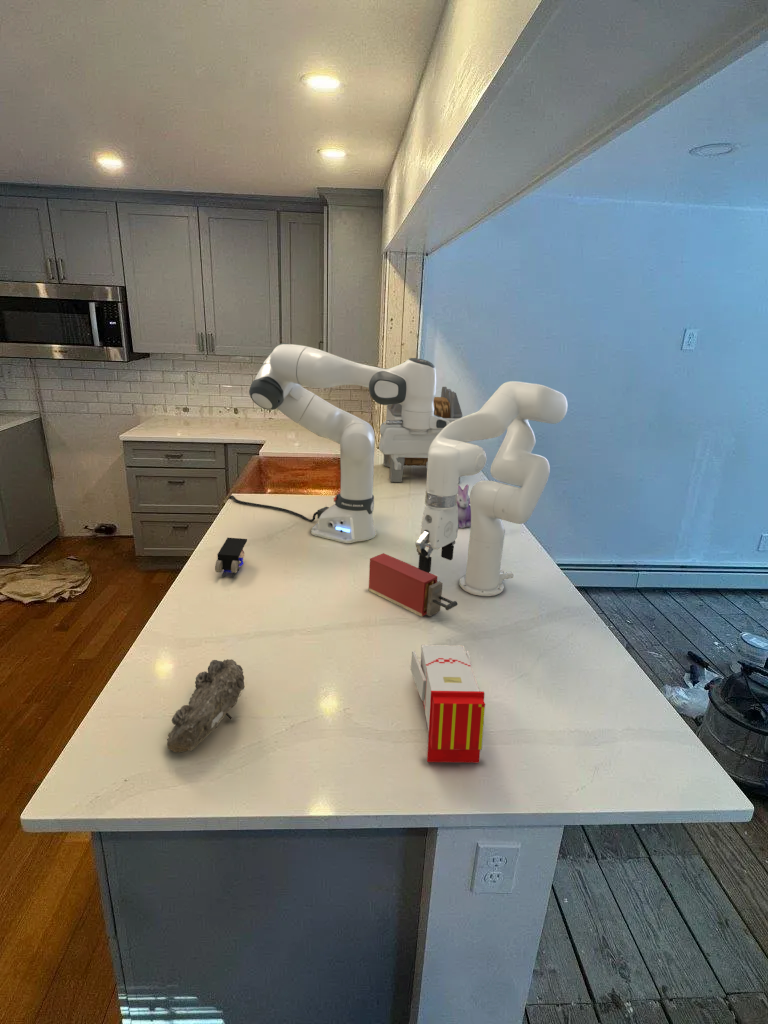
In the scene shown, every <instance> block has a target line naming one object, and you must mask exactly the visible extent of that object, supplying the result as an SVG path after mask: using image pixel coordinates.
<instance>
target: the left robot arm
mask: <svg viewBox="0 0 768 1024" xmlns="http://www.w3.org/2000/svg"><path fill="white" fill-rule="evenodd" d="M436 369H437V368H436V367H435V365H434V363H433V362H430V361H429V360H426V359H423V358H417V357H409V358H408V359H406V361H404V362H402V363H400V364H397V365H396V366H393V367H389V368H387V367H386V368H385V367H380V366H375V365H370V364H365V363H360V362H356V361H353V360H350V359H347V358H343V357H341V356H338V355H336V354H333V353H331V352H327V351H326V350H322V349H319V348H315V347H312V346H308V345H302V344H292V343H288V342H282V343H279V344H278V345H276V346H275V347H274V348H273V349H272V350H271V353H270V354H269V355H268V356H267V357H266V359H265V360H264V361H263V363H262V364H261V367H260V368H259V370H258V372H257V374H256V376H255V378H254V380H252V382H251V384H250V386H249V391H248V394H249V396H250V399H251V400H252V402H253V403H254V404H255V405H256V406H258V407H260V408H261V409H264V410H267V411H273V410H276V409H277V410H278V411H279V412H281V413H282V414H283V415H284V416H286V417H287V418H288V419H289V420H291V421H293V422H294V423H296V424H298V425H299V426H301V427H303V428H304V429H306V430H308V431H310V432H311V433H312V434H314V435H316V436H318V437H320V438H323V439H324V438H325V439H327V440H330V441H332V442H335V443H336V444H339V458H340V459H339V460H340V462H339V463H340V465H339V466H340V490H339V491H338V492H337V494H336V495H335V496H334V497H333V502H334V504H333V505H331V506H324V507H322V508H318V509H317V511H315V512H314V513H313V514H312V518H311V519H310V518H307V517H306V516H305V515H303V514H301V513H299V512H295V511H293V510H290V509H287V508H284V507H278V506H273V505H269V504H262V503H254V502H249V501H244V500H239V499H237V498H236V497H235V496H234V495H232V494H231V495H229V496H228V499H232V500H233V501H235V502H236V503H238V504H242V505H246V506H247V505H248V506H254V507H260V508H267V509H272V510H278V511H282V512H285V513H289V514H291V515H293V516H296V517H299V518H301V519H303V520H305V521H307V522H310V523H312V522H314V521H315V520H316V519H318V521H317V523H315V524H314V525H313V526H312V528H311V530H310V533H311V536H315V537H319V538H323V539H326V540H330V541H336V542H339V543H343V544H352V543H357V542H365V541H368V540H372V539H373V538H375V537H376V535H377V532H376V528H375V523H374V513H373V512H374V509H375V496H374V474H375V473H374V472H375V471H374V470H375V469H374V468H375V446H376V445H375V444H376V443H375V442H376V437H375V436H376V433H375V430H374V428H373V426H372V425H371V424H370V423H369V422H368V421H366V420H364V419H362V418H361V417H358V416H356V415H355V414H352V413H350V412H348V411H346V410H343V409H341V408H340V407H337V406H336V405H334V404H332V403H330V402H329V401H327V400H325V399H324V398H322V397H321V396H319V395H317V394H316V393H314V392H313V391H310V390H309V389H306V388H305V387H307V388H313V389H328V388H334V387H340V386H348V385H349V386H350V385H351V386H360V387H365V388H368V392H369V396H370V397H371V399H372V400H373V401H374V402H375V403H377V404H378V405H382V406H387V405H392V404H401V405H402V414H401V420H393V421H392V420H386V419H385V421H383V422H382V423H381V424H380V427H379V433H380V438H379V444H378V450H379V451H380V453H382V454H383V455H384V454H385V455H391V457H392V459H393V461H394V463H395V464H394V469H395V470H401V463H400V462H398V461H397V459H396V458H398V454H428V451H429V448H430V445H431V443H432V442H433V440H434V439H435V437H436V436H437V435H438V434H439V433H440V432H441V430H442V429H443V428H444V427H445V426H447V425H448V424H450V422H449V421H448V420H446V419H444V418H442V417H440V416H438V415H434V405H433V401H434V397H436V394H437V371H436ZM427 466H428V462H426V466H425V468H426V469H427ZM316 517H317V518H316Z"/></svg>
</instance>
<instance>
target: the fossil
mask: <svg viewBox="0 0 768 1024" xmlns="http://www.w3.org/2000/svg"><path fill="white" fill-rule="evenodd" d="M243 670H244V669H243V667H242V665H240V664H237V662H236V661H235V660H234V659H232V658H231V659H227V658H226V659H224V660H223V661H222V660H217V659H212V660H211V661H210V663H209V665H208V666H207V671H201V672H199V673H198V674H197V675H196V676H195V680H194V684H195V685H194V687H195V689H194V690H193V693H192V694H191V697H190V698H189V700H188V704H184V705H182V706H181V707H180V709H177V710H176V711H175V713H174V715H173V716H172V718H171V723H172V724H173V727H172V730H171V731H170V732H168V734H167V738H166V741H167V742H166V745H167V749H168V750H169V751H173V752H174V753H176V754H178V753H182V752H188V751H189V752H192V751H193V750H195V748H196V747H197V746H199V744H200V743H201V742H203V741H204V740H205V739H206V738H207V737H208V736H209V735H210V734H211V733H212V732H214V730H215V729H217V727H218V726H219V724H220V722H221V721H222V720H223V719H224V718H225V716H226V717H227V719H229V720H233V717H232V715H230V714H229V710H230V709H231V708H234V706H235V704H236V703H237V702H238V699H239V697H240V695H241V693H242V691H243V690H245V689H244V688H245V675H244V671H243Z"/></svg>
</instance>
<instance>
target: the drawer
mask: <svg viewBox="0 0 768 1024" xmlns="http://www.w3.org/2000/svg"><path fill="white" fill-rule="evenodd" d="M443 583H444V582H442V581H441V580H440V581H437V583H435V584H434V581H431V582H429V583H427V584H426V588H425V601H424V611H426V610H427V614H426V616H428V617H431V616H433V615H436V614H437V613H439V612H440V611H441V607H443V608H444V609H445V610H446V611H449V610H451V609H453V608H455V607H457V606H458V601H457V600H454V601H453V600H451V599H448V598H446V597H444V596H443V595H442V594H443ZM442 601H443V602H446V603H448V604H446V603H443V602H442Z"/></svg>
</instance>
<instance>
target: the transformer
mask: <svg viewBox="0 0 768 1024" xmlns="http://www.w3.org/2000/svg"><path fill="white" fill-rule="evenodd" d="M440 393H441V394H440V396H435V397H434V401H433V405H434V415H438V416H440V417H442V418H444V419H446V420H448V421H449V422H450V423H451V422H453V421H455V420H457V419H460V418H462V417H463V411H462V408H461V405H460V402H459V398H458V395H457V392H455V391H453V390H452V389H451V388H447V386H442V387H441V392H440ZM385 414H386V415H385V421H386V420H392V421H393V420H401V414H402V405H401V404H392V405H386V413H385ZM396 459H397V461H398V462H400V463H401V470H395V469H394V464H395V463H394V461H393V459H392V457H391V455H385V454H383V466H384V467H388V468H389V475H388V476H389V477H388V478H389V480H390V482H391V483H402V482H403V475H404V469H405V466H406V467H407V466H411V467H412V466H413V467H415V466H416V467H417V466H418V467H426V462H428V454H398V458H396ZM459 483H461V476H460V477H459Z"/></svg>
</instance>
